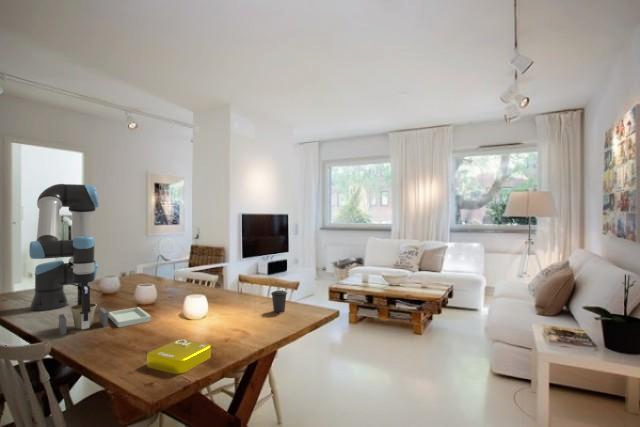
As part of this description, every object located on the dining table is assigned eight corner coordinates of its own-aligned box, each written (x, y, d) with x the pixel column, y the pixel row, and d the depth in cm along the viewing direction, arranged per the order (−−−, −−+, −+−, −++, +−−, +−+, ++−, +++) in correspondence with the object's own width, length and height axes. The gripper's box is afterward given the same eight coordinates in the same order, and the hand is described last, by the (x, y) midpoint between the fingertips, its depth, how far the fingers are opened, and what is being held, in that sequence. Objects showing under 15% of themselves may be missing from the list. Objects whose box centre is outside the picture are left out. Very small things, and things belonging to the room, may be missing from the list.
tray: (108, 317, 160) (108, 312, 160) (138, 311, 169) (138, 307, 169) (118, 327, 146) (118, 322, 146) (151, 321, 154) (151, 316, 154)
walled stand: (58, 328, 144) (58, 314, 144) (103, 320, 155) (103, 307, 155) (61, 335, 137) (61, 320, 137) (107, 326, 147) (107, 312, 147)
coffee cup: (288, 309, 174) (288, 289, 174) (285, 313, 166) (285, 293, 166) (273, 308, 175) (273, 289, 175) (269, 313, 166) (269, 292, 166)
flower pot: (83, 331, 140) (83, 310, 140) (64, 329, 142) (64, 308, 142) (102, 323, 150) (102, 303, 149) (84, 322, 151) (84, 302, 151)
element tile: (143, 367, 109) (143, 352, 109) (180, 350, 123) (180, 336, 123) (179, 376, 103) (179, 360, 103) (213, 357, 117) (213, 343, 117)
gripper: (69, 270, 151) (69, 321, 151) (76, 277, 135) (76, 334, 136) (89, 268, 156) (89, 318, 156) (98, 275, 140) (98, 330, 141)
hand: (83, 325), depth 146 cm, fingers closed on flower pot, 8 cm apart
